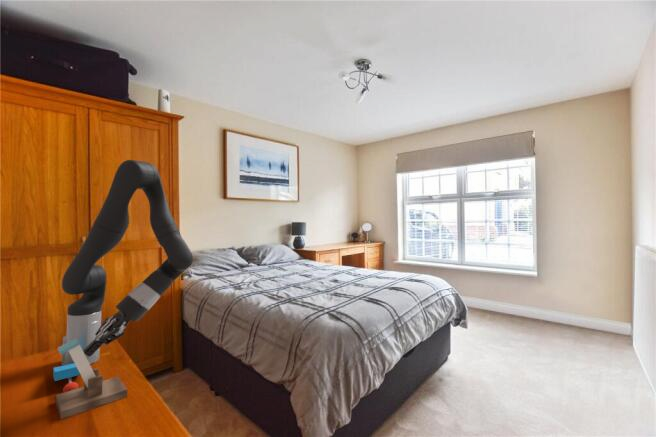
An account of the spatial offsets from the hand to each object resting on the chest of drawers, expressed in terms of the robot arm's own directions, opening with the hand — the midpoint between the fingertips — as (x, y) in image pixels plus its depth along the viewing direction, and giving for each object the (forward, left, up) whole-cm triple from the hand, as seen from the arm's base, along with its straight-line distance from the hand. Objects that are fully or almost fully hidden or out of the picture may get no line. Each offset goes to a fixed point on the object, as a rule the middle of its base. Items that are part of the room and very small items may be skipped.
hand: (86, 354), depth 81 cm
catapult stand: (+1, +1, -13) cm, 13 cm away
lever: (-12, +10, -13) cm, 20 cm away
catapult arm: (+1, +1, -9) cm, 9 cm away
